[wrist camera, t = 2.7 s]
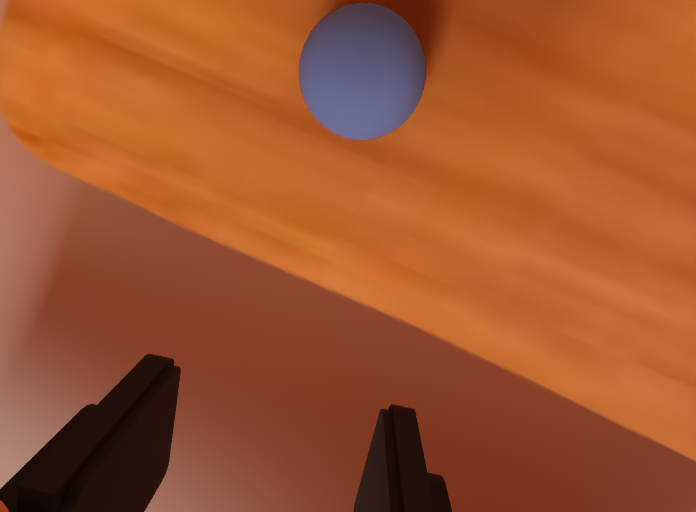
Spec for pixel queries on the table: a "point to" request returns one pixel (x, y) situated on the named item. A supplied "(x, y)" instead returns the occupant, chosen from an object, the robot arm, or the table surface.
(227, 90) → the table surface
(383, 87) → the ball
